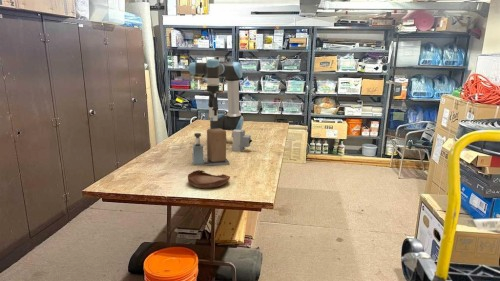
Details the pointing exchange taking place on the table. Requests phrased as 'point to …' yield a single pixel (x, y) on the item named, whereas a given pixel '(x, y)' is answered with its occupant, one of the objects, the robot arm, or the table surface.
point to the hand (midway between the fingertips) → (213, 119)
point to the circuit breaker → (240, 140)
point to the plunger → (197, 138)
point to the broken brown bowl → (206, 179)
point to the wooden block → (216, 145)
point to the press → (199, 158)
